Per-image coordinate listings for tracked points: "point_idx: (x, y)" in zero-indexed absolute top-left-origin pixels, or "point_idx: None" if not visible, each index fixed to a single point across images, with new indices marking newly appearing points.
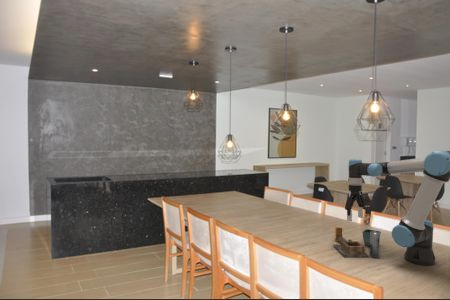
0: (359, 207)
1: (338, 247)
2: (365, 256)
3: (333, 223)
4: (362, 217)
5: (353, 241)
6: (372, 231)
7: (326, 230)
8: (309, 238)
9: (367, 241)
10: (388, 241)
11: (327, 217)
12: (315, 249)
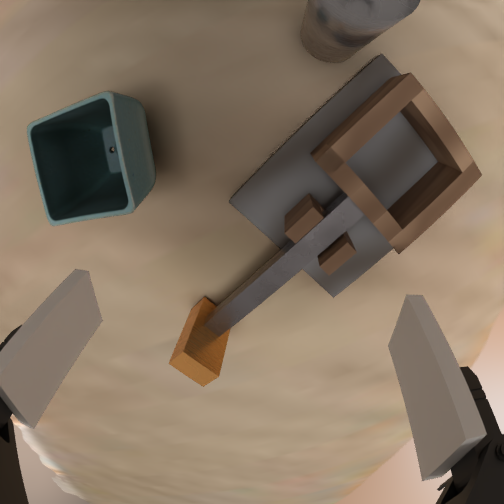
0: (23, 410)
1: (366, 254)
2: (395, 70)
3: None
4: (78, 273)
5: (341, 187)
6: (359, 4)
7: (121, 391)
8: (289, 402)
9: (151, 156)
10: (10, 133)
11: None
12: None
